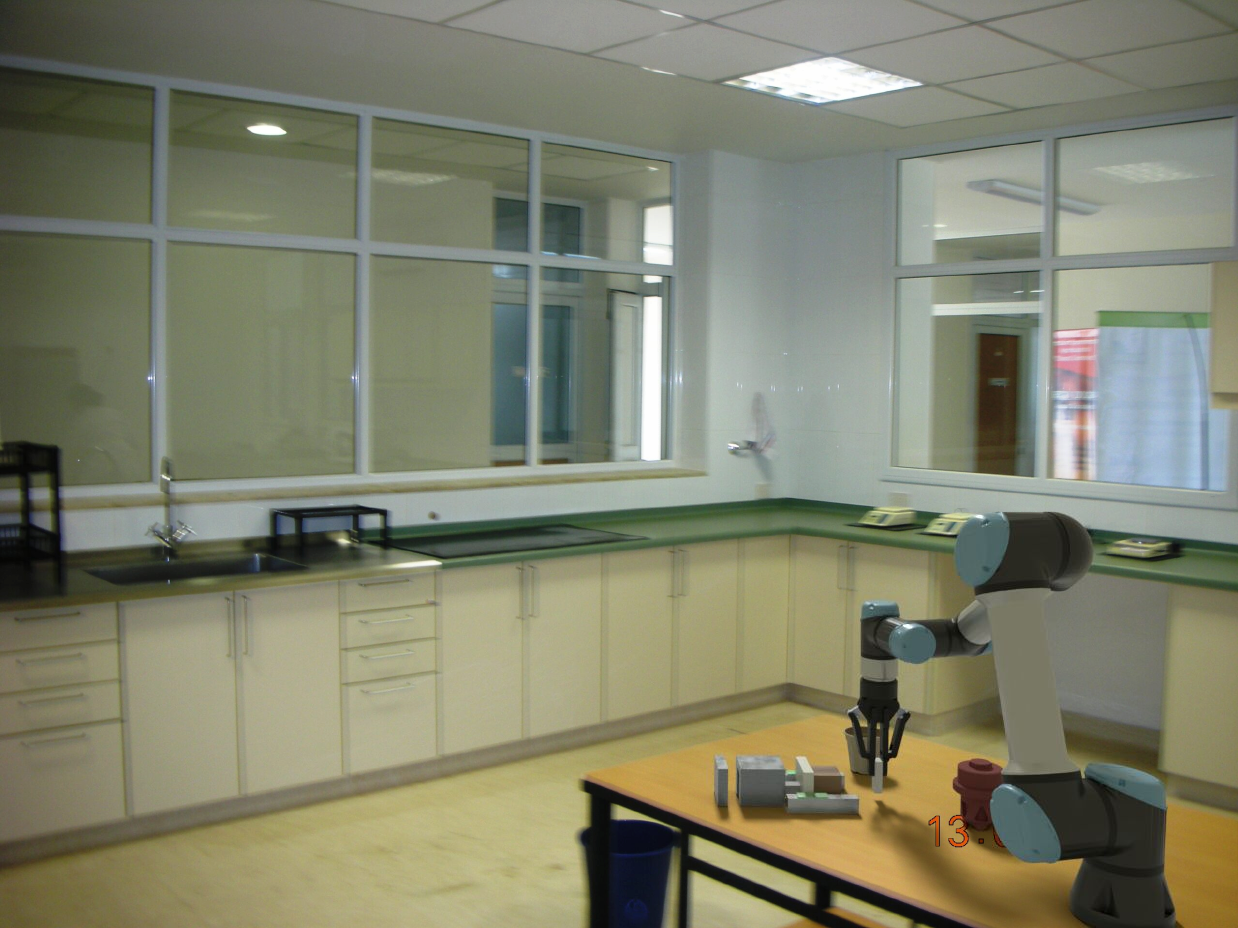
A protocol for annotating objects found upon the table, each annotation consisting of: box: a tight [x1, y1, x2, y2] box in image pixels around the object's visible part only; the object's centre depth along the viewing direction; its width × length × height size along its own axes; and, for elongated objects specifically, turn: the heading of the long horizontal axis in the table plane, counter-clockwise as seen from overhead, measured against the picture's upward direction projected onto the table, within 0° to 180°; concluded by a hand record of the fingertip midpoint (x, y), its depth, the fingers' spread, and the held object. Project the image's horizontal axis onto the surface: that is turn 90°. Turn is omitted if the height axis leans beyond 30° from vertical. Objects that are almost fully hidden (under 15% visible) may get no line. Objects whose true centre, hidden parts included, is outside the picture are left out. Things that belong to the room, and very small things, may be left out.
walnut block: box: [810, 765, 842, 794], centre depth 218 cm, size 6×6×6 cm
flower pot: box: [842, 725, 880, 775], centre depth 235 cm, size 9×9×9 cm
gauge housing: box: [713, 754, 860, 815], centre depth 218 cm, size 16×28×8 cm, turn 90°
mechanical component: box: [952, 757, 1004, 832], centre depth 204 cm, size 12×10×10 cm
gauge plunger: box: [785, 756, 814, 798], centre depth 218 cm, size 10×14×7 cm
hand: (877, 790), depth 217 cm, fingers closed
